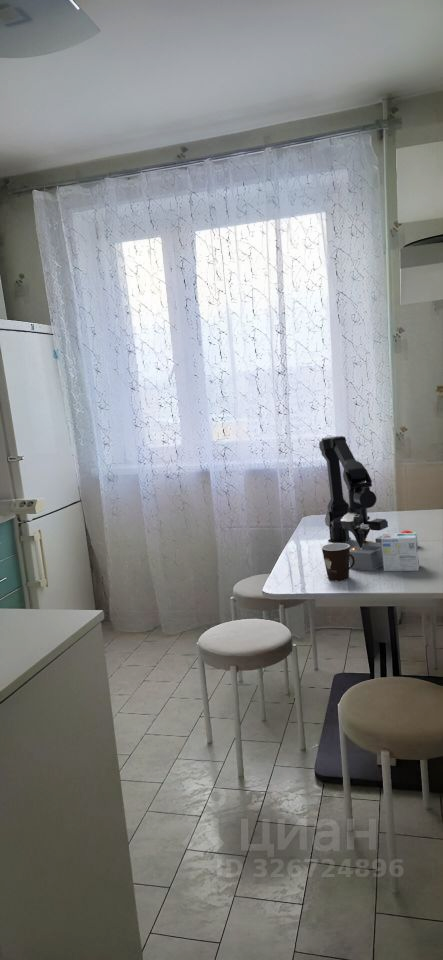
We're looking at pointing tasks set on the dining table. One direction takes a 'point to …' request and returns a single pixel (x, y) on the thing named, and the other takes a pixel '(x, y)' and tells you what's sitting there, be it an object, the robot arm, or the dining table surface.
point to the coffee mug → (337, 561)
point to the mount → (368, 556)
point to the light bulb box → (400, 552)
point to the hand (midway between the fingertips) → (361, 547)
